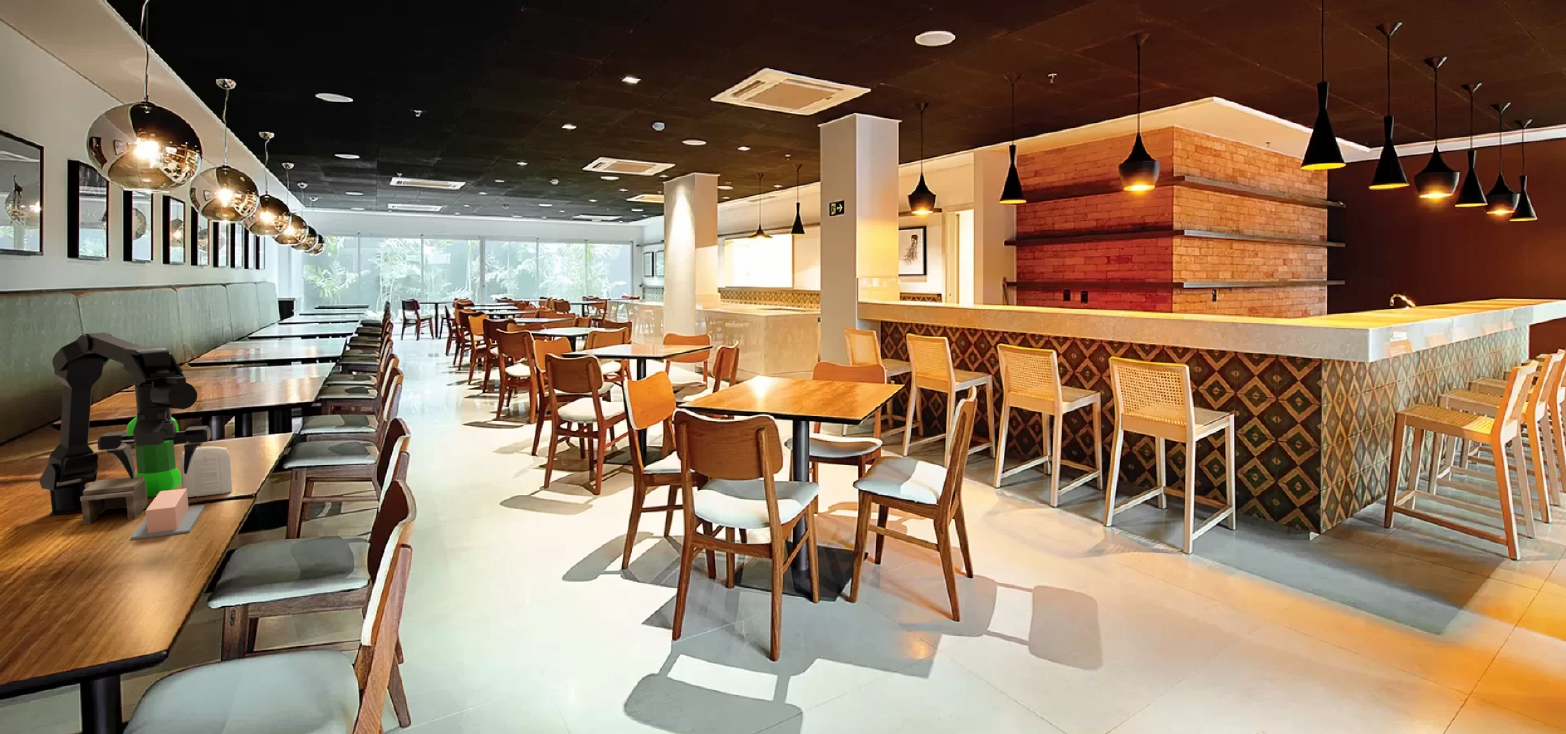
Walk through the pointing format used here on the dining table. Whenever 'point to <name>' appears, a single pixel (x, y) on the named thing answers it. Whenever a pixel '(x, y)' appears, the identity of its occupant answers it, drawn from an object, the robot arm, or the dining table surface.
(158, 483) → the plastic bottle
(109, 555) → the dining table surface
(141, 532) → the slate mat
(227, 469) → the white arched slab
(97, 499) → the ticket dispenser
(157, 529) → the block
